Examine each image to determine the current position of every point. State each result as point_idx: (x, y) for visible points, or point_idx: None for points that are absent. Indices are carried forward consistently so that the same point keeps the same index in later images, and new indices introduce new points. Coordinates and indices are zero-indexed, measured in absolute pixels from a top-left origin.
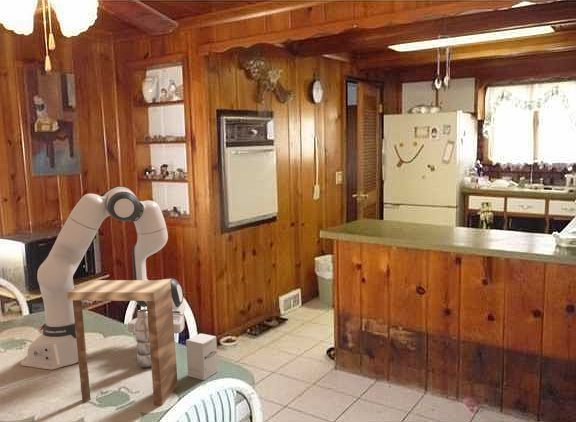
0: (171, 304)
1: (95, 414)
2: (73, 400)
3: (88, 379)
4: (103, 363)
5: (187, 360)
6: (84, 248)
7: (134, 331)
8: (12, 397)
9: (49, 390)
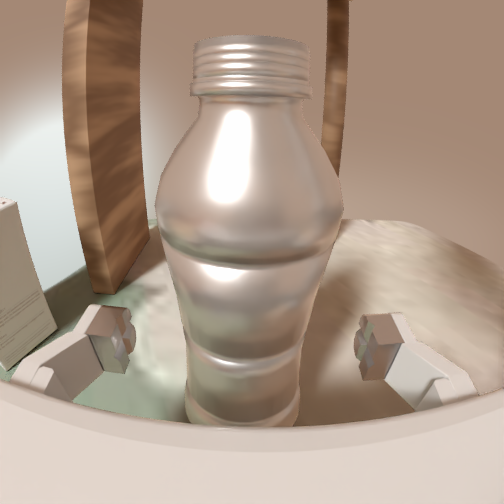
0: (67, 22)
1: None
2: (346, 247)
3: None
4: None
5: (37, 278)
6: None
7: (383, 315)
8: (465, 253)
9: (436, 270)
